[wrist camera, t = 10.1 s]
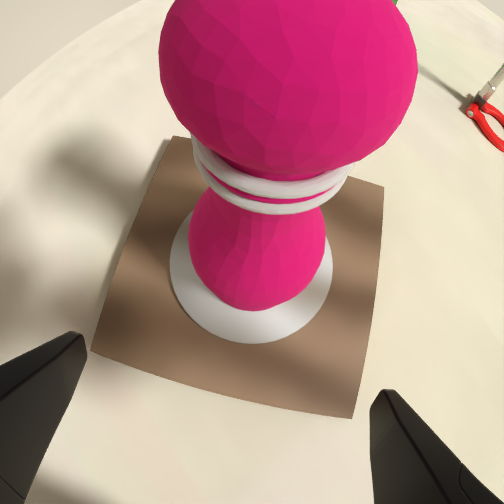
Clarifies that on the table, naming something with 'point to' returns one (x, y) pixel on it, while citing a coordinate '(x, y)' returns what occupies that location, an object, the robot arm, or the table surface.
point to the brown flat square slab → (238, 321)
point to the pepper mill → (279, 126)
